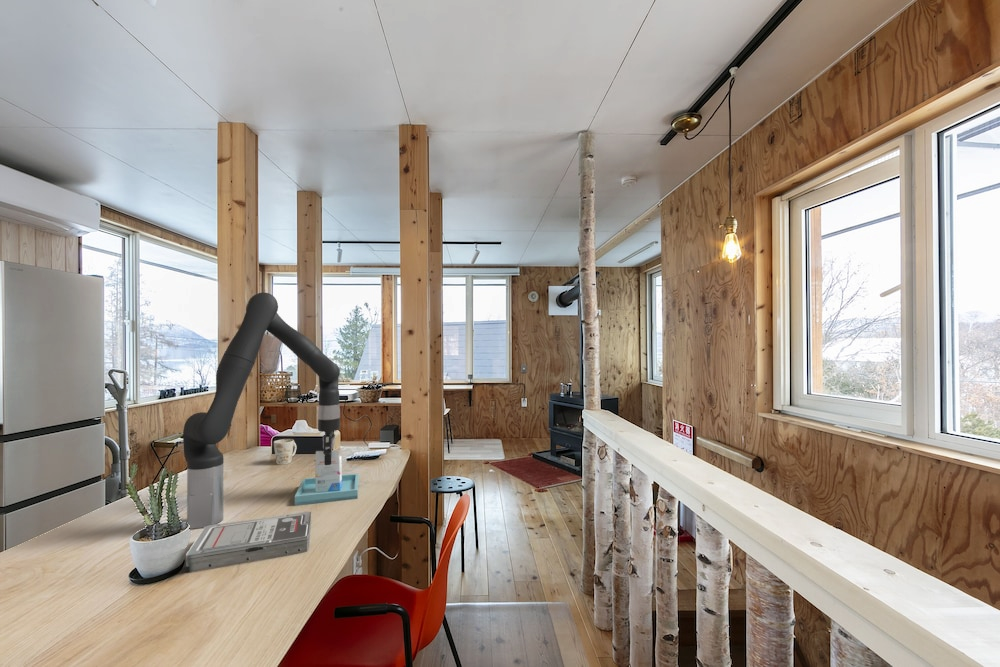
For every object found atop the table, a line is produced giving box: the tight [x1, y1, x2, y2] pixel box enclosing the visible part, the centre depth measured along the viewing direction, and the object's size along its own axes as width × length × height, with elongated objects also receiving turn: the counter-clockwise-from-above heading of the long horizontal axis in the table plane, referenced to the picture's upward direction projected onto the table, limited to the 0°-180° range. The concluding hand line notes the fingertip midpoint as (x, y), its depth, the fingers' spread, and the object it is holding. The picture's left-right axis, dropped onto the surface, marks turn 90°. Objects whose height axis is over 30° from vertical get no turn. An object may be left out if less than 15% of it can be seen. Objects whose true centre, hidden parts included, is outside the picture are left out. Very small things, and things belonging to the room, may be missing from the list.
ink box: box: [314, 449, 343, 492], centre depth 158 cm, size 8×5×15 cm, turn 101°
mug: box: [273, 438, 298, 465], centre depth 200 cm, size 8×13×10 cm, turn 170°
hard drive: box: [183, 511, 312, 574], centre depth 116 cm, size 18×27×4 cm
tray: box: [294, 473, 359, 506], centre depth 158 cm, size 20×20×3 cm
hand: (328, 461), depth 158 cm, fingers open, 8 cm apart
